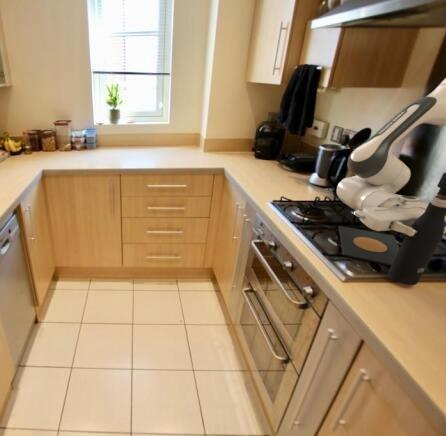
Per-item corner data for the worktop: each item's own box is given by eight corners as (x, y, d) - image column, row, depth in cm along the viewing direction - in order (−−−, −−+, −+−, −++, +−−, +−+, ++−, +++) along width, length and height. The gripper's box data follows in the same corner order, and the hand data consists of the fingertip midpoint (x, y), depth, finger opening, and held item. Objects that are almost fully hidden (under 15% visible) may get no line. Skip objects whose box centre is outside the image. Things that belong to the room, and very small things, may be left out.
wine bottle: (391, 267, 91) (438, 168, 77) (419, 277, 86) (475, 174, 72) (385, 277, 87) (433, 175, 73) (415, 288, 83) (473, 182, 69)
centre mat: (393, 237, 108) (394, 235, 107) (407, 269, 92) (408, 267, 92) (338, 227, 114) (339, 225, 114) (342, 255, 99) (343, 253, 99)
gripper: (353, 200, 89) (395, 224, 77) (421, 196, 90) (472, 218, 78) (346, 220, 92) (386, 246, 80) (411, 215, 93) (460, 240, 81)
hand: (429, 232), depth 79 cm, fingers closed on wine bottle, 6 cm apart
